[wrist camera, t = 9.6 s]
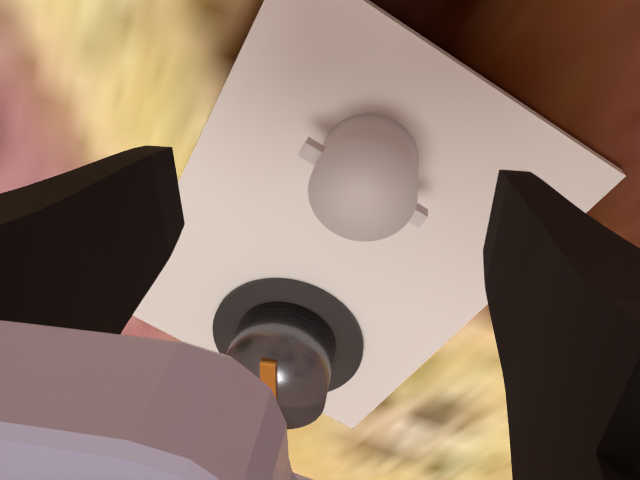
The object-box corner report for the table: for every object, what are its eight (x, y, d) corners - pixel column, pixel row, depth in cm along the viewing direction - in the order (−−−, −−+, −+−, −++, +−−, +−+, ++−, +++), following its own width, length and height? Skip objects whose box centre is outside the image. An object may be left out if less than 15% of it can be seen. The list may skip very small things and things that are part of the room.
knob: (333, 381, 29) (321, 443, 26) (240, 367, 30) (217, 426, 26) (339, 309, 26) (326, 369, 23) (235, 295, 27) (209, 351, 23)
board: (621, 169, 21) (653, 216, 18) (353, 420, 32) (346, 475, 29) (291, -52, 19) (266, -40, 16) (124, 301, 30) (90, 347, 27)
